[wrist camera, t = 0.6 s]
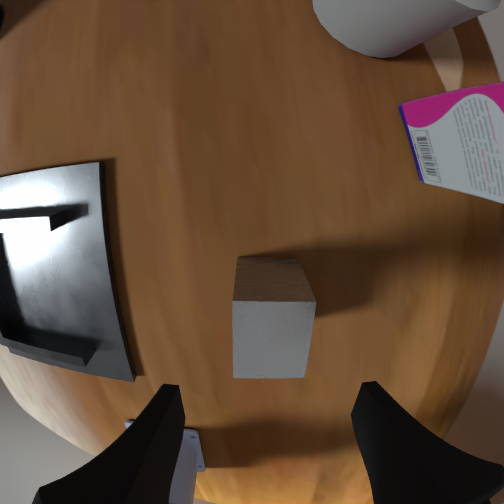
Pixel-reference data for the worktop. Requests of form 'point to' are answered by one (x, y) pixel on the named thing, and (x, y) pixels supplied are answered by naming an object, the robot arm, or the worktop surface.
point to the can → (394, 21)
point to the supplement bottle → (1, 13)
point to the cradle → (60, 272)
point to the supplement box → (459, 139)
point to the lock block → (271, 318)
